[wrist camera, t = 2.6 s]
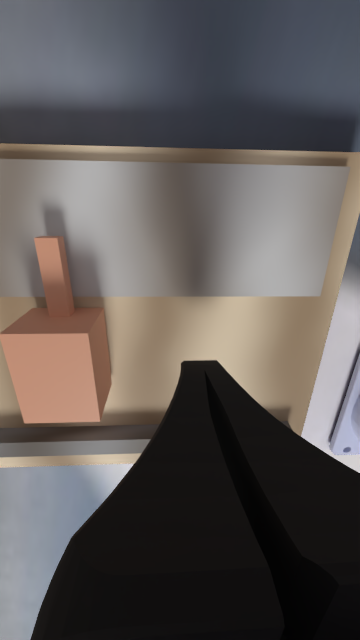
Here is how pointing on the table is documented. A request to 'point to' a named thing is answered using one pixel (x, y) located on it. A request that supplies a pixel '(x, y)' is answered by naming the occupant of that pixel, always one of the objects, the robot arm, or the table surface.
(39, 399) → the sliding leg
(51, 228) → the plate
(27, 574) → the table surface
